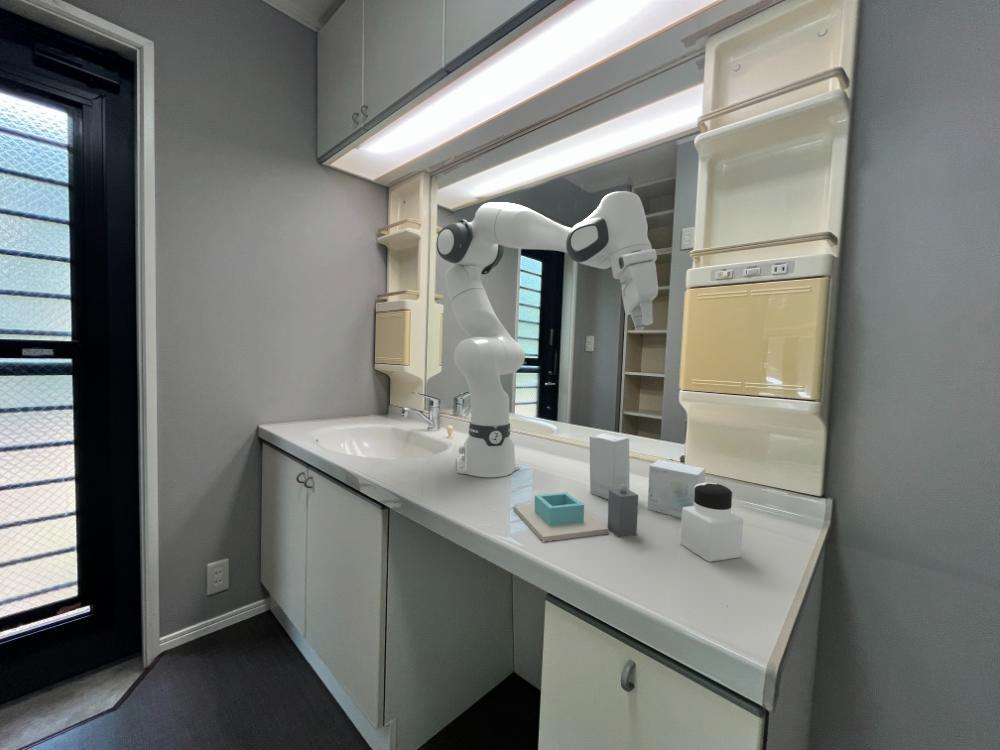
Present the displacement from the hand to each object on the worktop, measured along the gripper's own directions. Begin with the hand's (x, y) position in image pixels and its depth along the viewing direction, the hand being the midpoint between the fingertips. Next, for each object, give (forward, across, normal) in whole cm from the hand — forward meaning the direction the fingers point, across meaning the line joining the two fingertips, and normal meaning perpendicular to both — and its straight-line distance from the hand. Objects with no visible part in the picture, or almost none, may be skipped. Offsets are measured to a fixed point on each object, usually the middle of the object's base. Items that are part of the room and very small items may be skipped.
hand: (644, 327), depth 89 cm
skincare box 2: (+42, -6, 0) cm, 42 cm away
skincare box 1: (+38, -14, -13) cm, 43 cm away
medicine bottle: (+43, +12, +2) cm, 45 cm away
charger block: (+40, +7, -13) cm, 43 cm away
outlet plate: (+37, +5, -25) cm, 45 cm away
